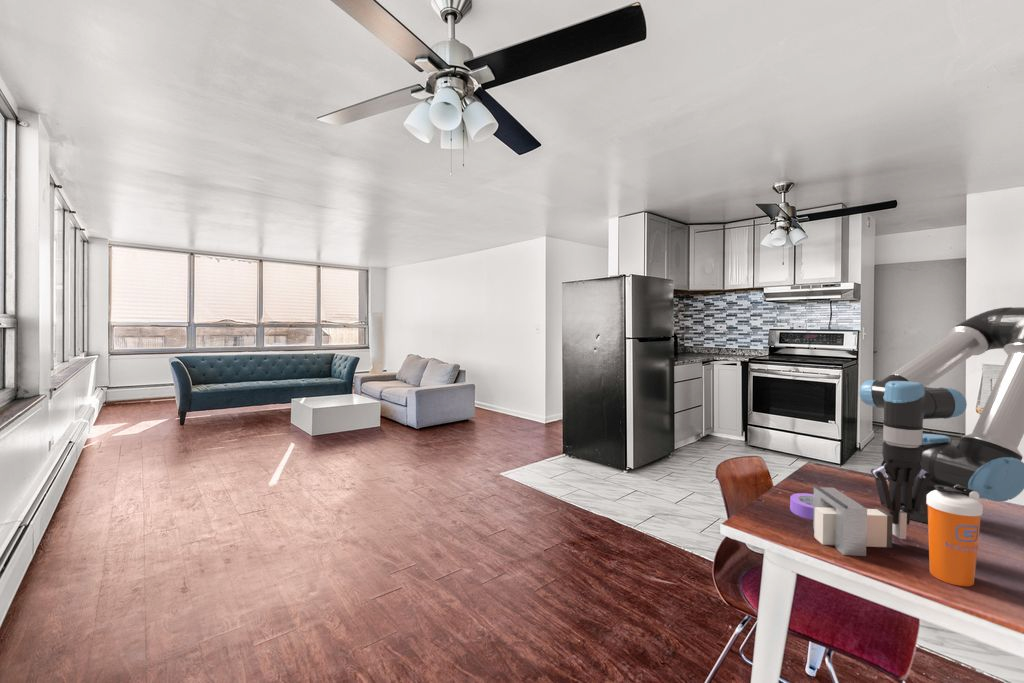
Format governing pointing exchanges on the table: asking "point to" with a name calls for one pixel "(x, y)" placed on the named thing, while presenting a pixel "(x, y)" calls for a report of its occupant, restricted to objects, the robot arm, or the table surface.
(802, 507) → the masking tape
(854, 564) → the table surface
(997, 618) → the table surface
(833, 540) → the cream rectangular block
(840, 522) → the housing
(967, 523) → the shaker bottle
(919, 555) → the table surface
